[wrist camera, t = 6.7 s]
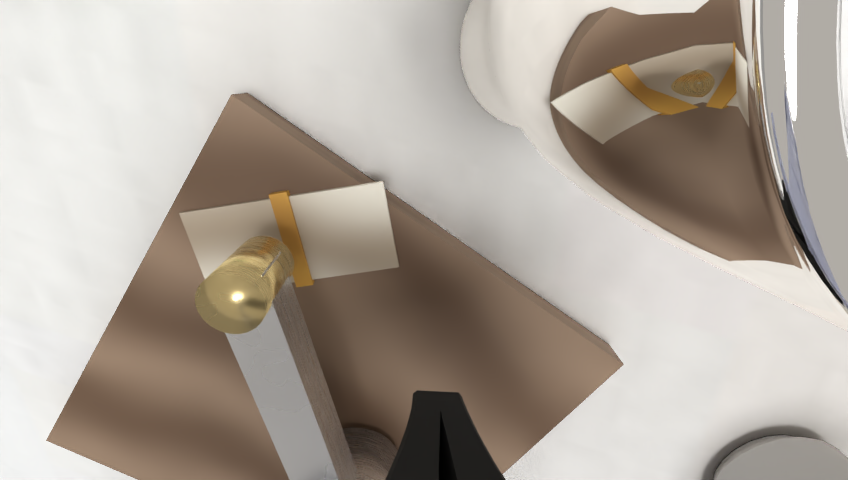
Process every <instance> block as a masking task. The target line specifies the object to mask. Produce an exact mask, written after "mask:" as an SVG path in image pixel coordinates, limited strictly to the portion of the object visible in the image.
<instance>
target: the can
mask: <svg viewBox="0 0 848 480" xmlns="http://www.w3.org/2000/svg"><path fill="white" fill-rule="evenodd" d="M713 480H848V458H847V457H846V456H845V455H844V454H843V453H842V452H841V451H839V450H838V449H837V448H835V447H834V446H832V445H830V444H828V443H826V442H825V441H823V440H818V439H812V438H806V437H793V436H787V435H777V436H766V437H763V438H760V439H757V440H753V441H750V442H748V443H746V444H744V445H743V446H741V447H739V448H737V449H735V450H734V451H733V452H732V453H730V454H729V455H728V456H727V457H726V458H725V459H724V460H723V461H722V462H721V464H720V465H719V467H718V468H717V470H716V471H715V475H714V479H713Z"/></svg>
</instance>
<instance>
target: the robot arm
mask: <svg viewBox="0 0 848 480" xmlns="http://www.w3.org/2000/svg"><path fill="white" fill-rule="evenodd" d="M385 480H505V478H504V477H503V475H502V473H501V472H500V470H499V469H498V467H497V465H496V464H495V462H494V460H493V459H492V457H491V455H490V453H489V452H488V450H487V448H486V446H485V444H484V443H483V441H482V439H481V437H480V435H479V433H478V431H477V429H476V427H475V425H474V423H473V421H472V419H471V417H470V415H469V413H468V410H467V408H466V406H465V403H464V401H463V398H462V396H461V395H460V394H459V392H440V391H420V390H417V391H415V392H414V393H413V398H412V407H411V412H410V416H409V419H408V423H407V426H406V429H405V432H404V435H403V438H402V441H401V444H400V446H399V449H398V452H397V454H396V456H395V459H394V461H393V463H392V465H391V468H390V470H389V472H388V475H387V477H386V479H385Z"/></svg>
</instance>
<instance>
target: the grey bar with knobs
mask: <svg viewBox="0 0 848 480" xmlns="http://www.w3.org/2000/svg"><path fill="white" fill-rule="evenodd" d="M293 270H294V259H293V256H292V253H291V252H290V250H289V249H288V247H287V246H286V245H285V244H283V243H282V242H281V241H279V240H277V239H275V238H272V237H269V236H256V237H252V238H250V239H248V240H247V241H245V242H244V243H243V244H242V245H241V246H240V247H239V248H238V249H237V250H236V251H235V252H233V253H232V254H231V255H230V256H229V257H228V258H227V259H226V260H225V261H224V262H223V263H222V264H221V265H220V266H219V267H218V268H217V269H215V270H214V271H213V272H212V273H211V274H210V275H209V276H208V277H207V278H206V279H205V280H204V281H203V282H202V283H201V284H200V285H199V287H198V288H197V291H196V294H195V305H196V308H197V311H198V313H199V315H200V316H201V317H202V319H203V320H204V321H205V322H206V323H207V324H209V325H210V326H211V327H213V328H215V329H216V330H219V331H221V332H224V333H225V334H226V336H227V339H228V341H229V343H230V345H231V348H232V350H233V352H234V355H235V357H236V359H237V361H238V364H239V366H240V368H241V371H242V373H243V375H244V377H245V380H246V382H247V384H248V386H249V389H250V391H251V393H252V396H253V398H254V400H255V402H256V405H257V407H258V409H259V412H260V414H261V416H262V418H263V421H264V423H265V425H266V428H267V430H268V432H269V434H270V437H271V439H272V441H273V443H274V446H275V448H276V450H277V453H278V455H279V457H280V459H281V462H282V464H283V466H284V469H285V471H286V473H287V475H288V478H289V480H385V479H386V477H387V475H388V472H389V470H390V468H391V465H392V463H393V461H394V459H395V456H396V454H397V449H396V448H395V446H394V445H393V443H392V442H391V441H390V440H389V439H388V438H386V437H385V436H384V435H382V434H380V433H378V432H376V431H373V430H370V429H366V428H359V427H348V428H342V426H341V423H340V420H339V418H338V415H337V412H336V409H335V406H334V403H333V400H332V397H331V395H330V392H329V389H328V386H327V383H326V380H325V377H324V374H323V372H322V369H321V366H320V363H319V360H318V357H317V354H316V352H315V349H314V346H313V343H312V340H311V337H310V334H309V331H308V329H307V326H306V323H305V320H304V317H303V314H302V311H301V308H300V306H299V303H298V300H297V297H296V294H295V291H294V288H293V286H292V283H291V280H290V277H291V275H292V273H293Z"/></svg>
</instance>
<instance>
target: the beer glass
mask: <svg viewBox="0 0 848 480" xmlns="http://www.w3.org/2000/svg"><path fill="white" fill-rule="evenodd" d="M460 60H461V66H462V71H463V74H464V77H465V80H466V83H467V85H468V87H469V89H470V91H471V93H472V95H473V96H474V98H475V99H476V100H477V102H478V103H479V104H480V105H481V106H482V107H483V108H484V109H485V110H486V111H487V112H488V113H489V114H490V115H492V116H493V117H495V118H496V119H498V120H500V121H501V122H504V123H506V124H508V125H511V126H515V127H518V128H520V129H521V130H522V132H523V133H524V134H525V136H526V137H527V138H528V140H529V141H530V143H531V144H532V145H533V146H534V148H535V149H536V150H537V151H538V152H539V154H540V155H541V156H542V157H543V158H544V159H545V160H546V161H547V162H548V163H549V164H550V165H551V166H552V167H553V168H555V169H556V170H557V171H558V172H559V173H561V174H562V175H563V176H564V177H566V178H567V179H568V180H569V181H571V182H572V183H573V184H574V185H576V186H577V187H578V188H580V189H581V190H582V191H583V192H585V193H586V194H587V195H588V196H590V197H591V198H593V199H594V200H595V201H597V202H598V203H600V204H601V205H603V206H605V207H606V208H608V209H610V210H611V211H613V212H615V213H616V214H618V215H620V216H622V217H623V218H625V219H627V220H628V221H630V222H632V223H633V224H635V225H637V226H638V227H640V228H642V229H643V230H645V231H647V232H648V233H650V234H652V235H654V236H655V237H657V238H659V239H661V240H663V241H665V242H667V243H669V244H671V245H673V246H675V247H677V248H679V249H681V250H683V251H685V252H687V253H689V254H691V255H692V256H694V257H696V258H698V259H700V260H702V261H704V262H706V263H708V264H710V265H712V266H714V267H716V268H718V269H720V270H722V271H724V272H726V273H728V274H730V275H732V276H734V277H736V278H739V279H741V280H743V281H745V282H747V283H749V284H751V285H753V286H755V287H757V288H760V289H762V290H764V291H766V292H768V293H770V294H772V295H774V296H776V297H778V298H781V299H783V300H785V301H787V302H789V303H791V304H793V305H795V306H797V307H799V308H801V309H803V310H805V311H807V312H809V313H811V314H813V315H815V316H817V317H819V318H821V319H823V320H825V321H827V322H829V323H831V324H833V325H835V326H837V327H839V328H841V329H843V330H845V331H847V332H848V0H471V2H470V4H469V7H468V9H467V12H466V15H465V17H464V21H463V25H462V29H461V35H460Z"/></svg>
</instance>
